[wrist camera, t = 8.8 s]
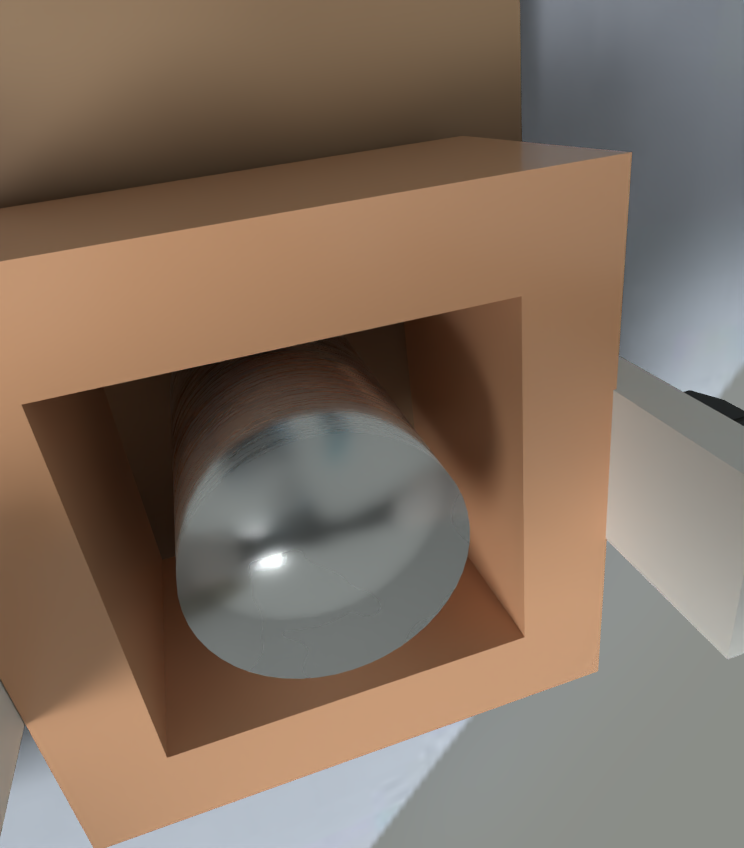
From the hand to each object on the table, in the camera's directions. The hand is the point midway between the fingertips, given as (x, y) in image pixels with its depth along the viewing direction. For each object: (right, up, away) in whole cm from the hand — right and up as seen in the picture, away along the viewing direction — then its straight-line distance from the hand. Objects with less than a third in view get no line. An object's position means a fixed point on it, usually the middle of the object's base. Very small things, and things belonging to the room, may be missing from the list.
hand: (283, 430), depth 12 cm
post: (-1, +1, +2) cm, 3 cm away
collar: (0, +1, +1) cm, 1 cm away
